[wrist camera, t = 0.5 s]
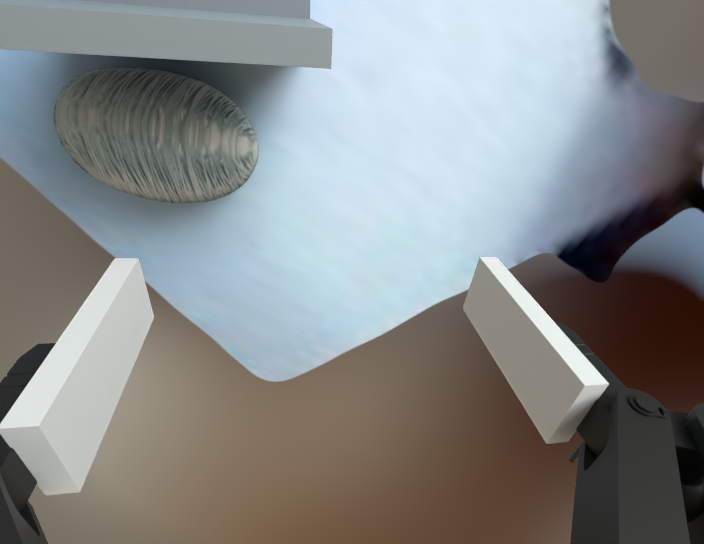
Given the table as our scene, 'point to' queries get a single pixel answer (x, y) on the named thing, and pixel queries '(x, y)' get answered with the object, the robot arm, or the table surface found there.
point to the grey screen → (170, 30)
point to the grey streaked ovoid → (156, 134)
